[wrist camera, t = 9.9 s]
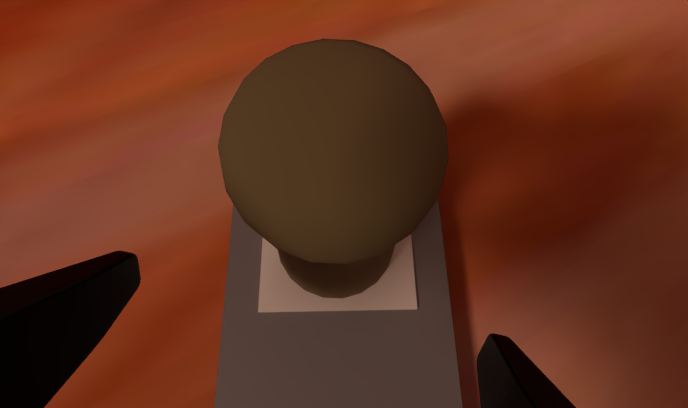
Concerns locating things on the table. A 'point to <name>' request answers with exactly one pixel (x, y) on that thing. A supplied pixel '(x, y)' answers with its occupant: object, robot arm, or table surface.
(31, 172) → the table surface
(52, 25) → the table surface
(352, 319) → the dock step
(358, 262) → the cork
